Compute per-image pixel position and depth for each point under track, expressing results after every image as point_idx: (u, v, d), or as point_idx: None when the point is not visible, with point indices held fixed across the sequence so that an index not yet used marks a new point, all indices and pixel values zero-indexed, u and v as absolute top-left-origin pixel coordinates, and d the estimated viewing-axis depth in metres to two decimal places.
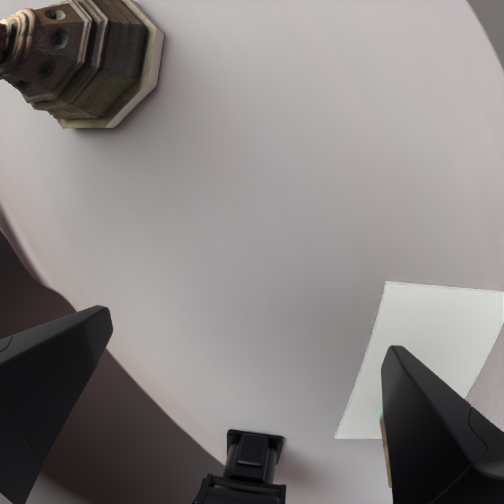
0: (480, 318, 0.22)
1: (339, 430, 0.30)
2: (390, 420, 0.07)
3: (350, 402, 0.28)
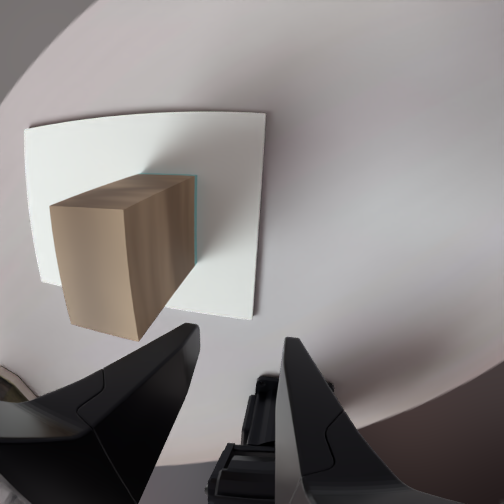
0: (44, 167, 0.21)
1: (229, 315, 0.23)
2: (277, 415, 0.07)
3: (166, 306, 0.23)
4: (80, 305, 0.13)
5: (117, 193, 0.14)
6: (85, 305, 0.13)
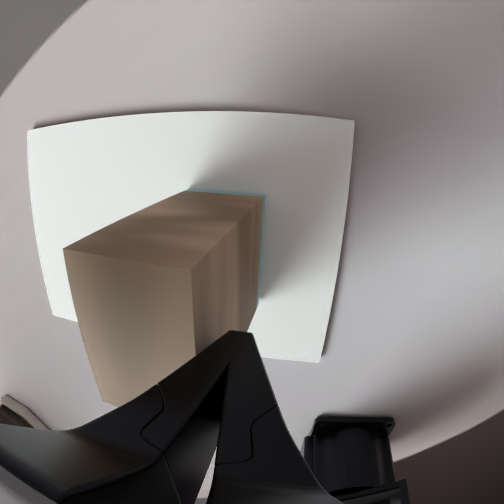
0: (53, 178, 0.17)
1: (293, 358, 0.19)
2: None
3: None
4: (116, 384, 0.09)
5: (167, 227, 0.10)
6: (124, 386, 0.09)
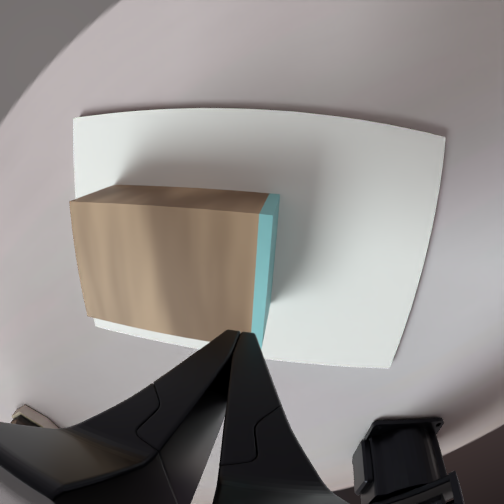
0: (108, 174, 0.16)
1: (365, 365, 0.18)
2: None
3: (288, 360, 0.18)
4: None
5: (137, 194, 0.14)
6: None
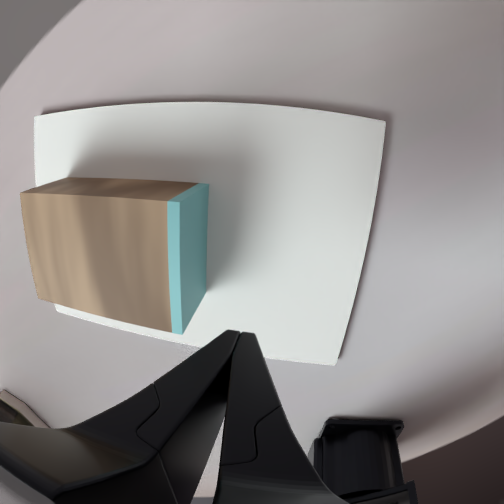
0: (62, 168, 0.16)
1: (309, 361, 0.18)
2: None
3: None
4: None
5: (78, 185, 0.14)
6: None
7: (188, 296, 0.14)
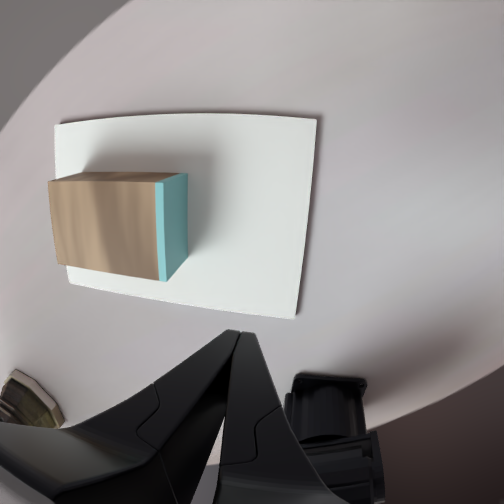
0: (78, 165, 0.21)
1: (272, 315, 0.23)
2: None
3: (207, 307, 0.24)
4: None
5: (92, 176, 0.19)
6: None
7: (171, 253, 0.19)
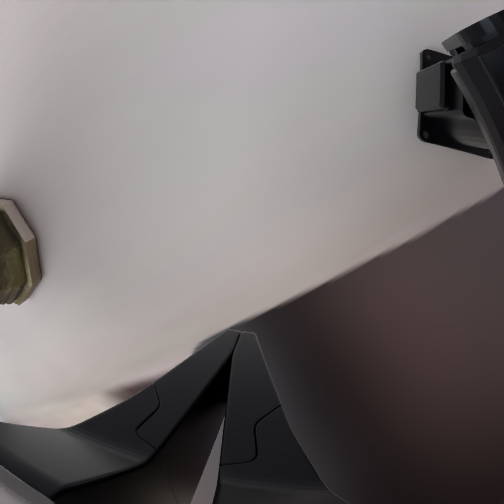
0: None
1: None
2: None
3: None
4: None
5: None
6: None
7: None
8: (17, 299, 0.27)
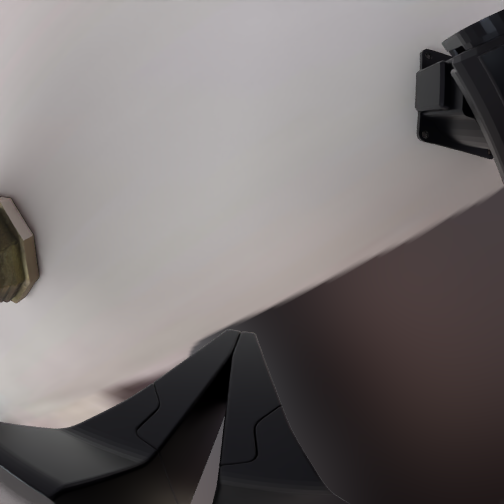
0: None
1: None
2: None
3: None
4: None
5: None
6: None
7: None
8: (15, 297, 0.26)
